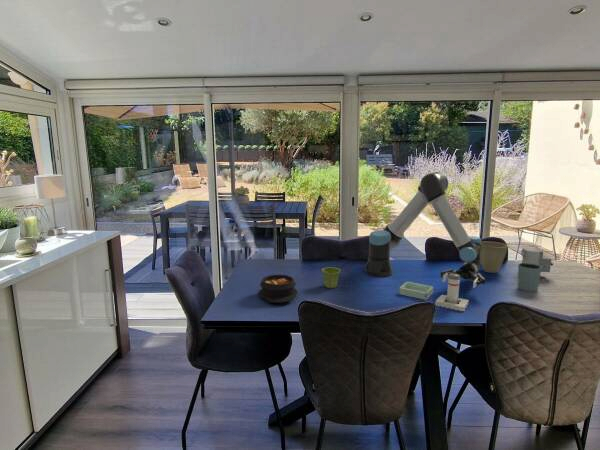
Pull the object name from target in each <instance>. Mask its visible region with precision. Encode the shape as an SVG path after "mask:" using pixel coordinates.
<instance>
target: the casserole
mask: <svg viewBox="0 0 600 450" xmlns="http://www.w3.org/2000/svg"><path fill="white" fill-rule="evenodd" d="M296 283H297V282H296V281H295V279H294V277H292V276H290V275H285V274H272V275H267V276H264V277H262V280H261V281H260V283H259V285H260V287H261V289H259V291H258V296H259V297H262V298H263V299H265V300H266V301H267V302H269V303H274V304H275V303H277V304H279V303H288V302H291V301H293V300H294V299H295V297H296V296H297V295H298V293H299V292H298V290H297V289H296V288H295V286H296V285H297V284H296Z"/></svg>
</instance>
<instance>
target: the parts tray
mask: <svg viewBox="0 0 600 450" xmlns="http://www.w3.org/2000/svg"><path fill="white" fill-rule="evenodd" d="M433 293H434V286H433V285H427V284H421V283H416V282H412V281H406V282H404V283H403V284H402V285H401V286H399V288H398V295H402V296H407V297H412V298H415V299H421V300H424V301H425V300H428V298H430V297H431V296H432V295H433Z"/></svg>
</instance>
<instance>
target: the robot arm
mask: <svg viewBox="0 0 600 450" xmlns="http://www.w3.org/2000/svg"><path fill="white" fill-rule="evenodd" d="M419 183H420V184H419V186H418V187H417V193H416V194H415V195H414V196H413V197H412V199H411V200H410V201H409V203H408V204H406V206H405V207H404V208H403V209H402V211H401V212H400V213H399V214H398V216H396V218H395V219H394V220H393V222H392V223H388V224H386V225H385V227H384V228H383V229H379V230H378V229H377V230H373V231H372V232H370V234H369V238H368V241H369V242H368V260H367V263H366V265H365V268H364V273H365V274H366V275H369V276H372V277H373V276H374V277H378V278H379V277H380V278H381V277H382V278H383V277H389V276H391V275H393V267H392V264H391V258H390V257H391V251H392V250H393V249H395V248H397V247H398V246H399V244H400V242H401V241H402V240H403V239H404V238H405V232H406V231H407V230H408V229H409V228H410V226H411V225H412V224H413V223H414V222H415V221H416V219H417V218H418V217H419V216H420V215H421V213H422V212H423V211H424V210H425V209H426V208H427V206H429V205H430V204H431V206H432V207H433V209H434V211H435V213H436V214H437V216H438V217H439V220H440V221H441V223H442V225H443V226H444V228H445V230H446V231H447V233H448V234H449V236H450V238H451V240H452V242H453V244H454V245H455V247H456V250H458V252H459V254H458V255H459V259H461V261H463V264H462V265H461V266H460V267H459V269H457V270H455V268H451V269H446V270H442V271H440V277H441V278H442V283H445V282H446V281H448V274H451V273H453V274H459V275H460V279H461V278H462V279H463V280H467V281H468V280H469V281H472V282H473V284H472V288H473V289H475V288H476V287H477V286H479V285H485V284H486V278H485V277H484V276H483V275H482V273H480V272H478V271H480V269H481V267H482V263H481V259H480V252H481V242H482V238H480V237H479V236H472V235H471V236H469V235H468V233H467V231H466V230H465V228H464V226H463V224H462V222H461V221H460V219H459V218H458V216H457V214H456V213H455V211H454V209H453V207H452V205H451V204H450V202H449V201H448V198H447V197H446V196H447V193H446V190H447V189H448V187H449V179H448V177H447V176H446V175H445V174H444V173H443V172H439V171H434V172H431V173H427V174H425V175H423V177H422V178H421V180H420V181H419ZM477 272H478V273H477Z"/></svg>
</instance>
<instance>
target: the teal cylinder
mask: <svg viewBox="0 0 600 450" xmlns="http://www.w3.org/2000/svg"><path fill="white" fill-rule="evenodd" d="M517 268H518V269H517V270H518V272H517V288H518V289H520V290H521V291H524V292H537V291H538V288H539V283H540V282H539V281H540V278H541V274H542V272H541V266H539V265H535V264H530V263H522V262H521V263H518V265H517ZM540 273H541V274H540ZM539 277H540V278H539Z"/></svg>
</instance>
